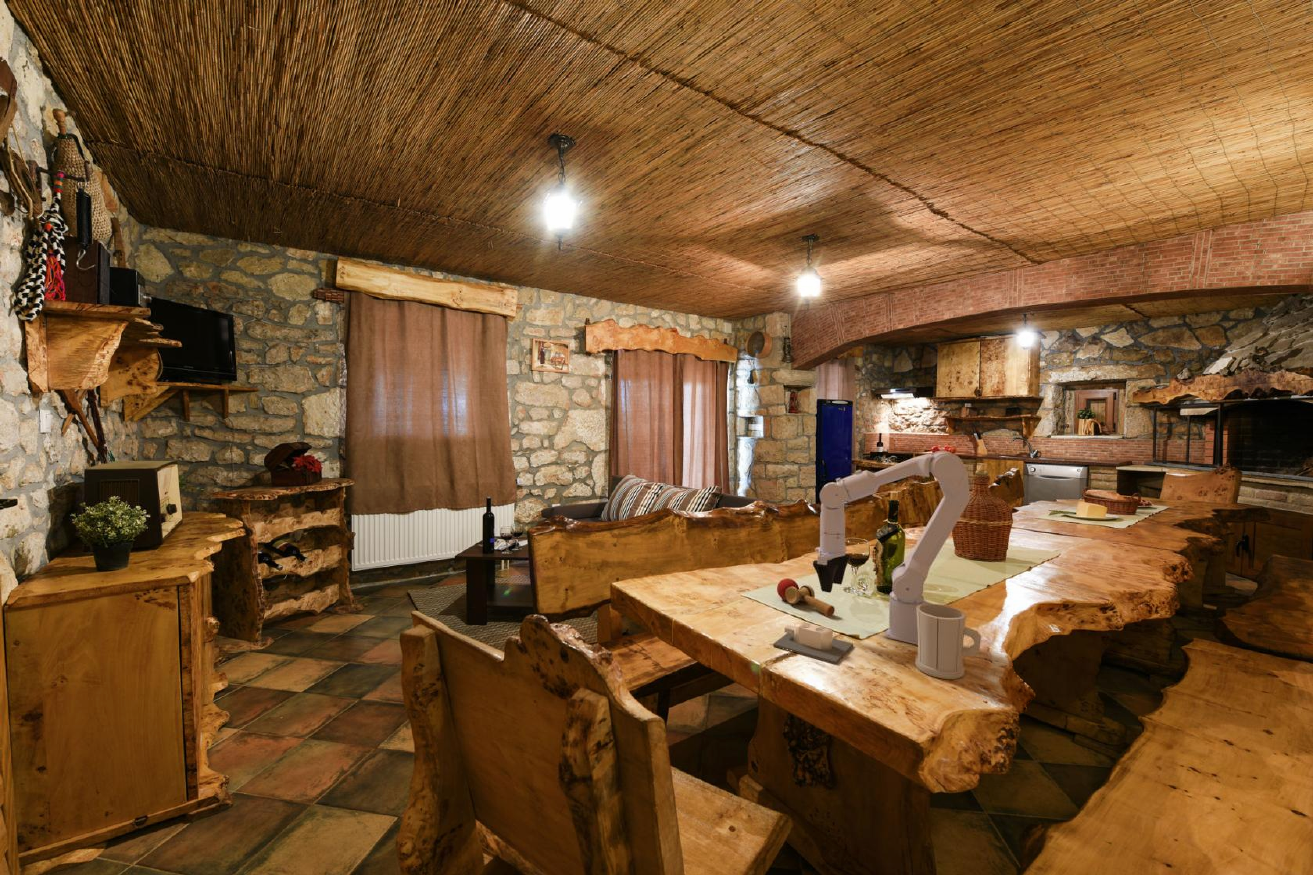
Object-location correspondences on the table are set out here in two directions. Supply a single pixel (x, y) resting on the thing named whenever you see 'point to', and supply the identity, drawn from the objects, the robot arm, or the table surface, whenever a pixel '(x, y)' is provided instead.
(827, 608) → the kendama
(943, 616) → the cup
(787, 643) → the mat
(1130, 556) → the table surface
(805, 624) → the block
